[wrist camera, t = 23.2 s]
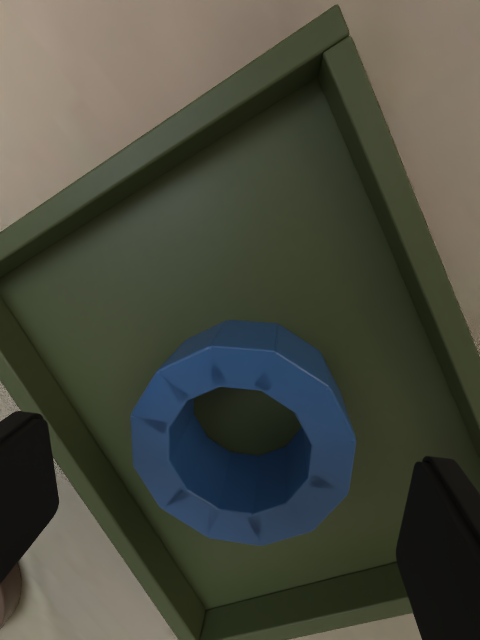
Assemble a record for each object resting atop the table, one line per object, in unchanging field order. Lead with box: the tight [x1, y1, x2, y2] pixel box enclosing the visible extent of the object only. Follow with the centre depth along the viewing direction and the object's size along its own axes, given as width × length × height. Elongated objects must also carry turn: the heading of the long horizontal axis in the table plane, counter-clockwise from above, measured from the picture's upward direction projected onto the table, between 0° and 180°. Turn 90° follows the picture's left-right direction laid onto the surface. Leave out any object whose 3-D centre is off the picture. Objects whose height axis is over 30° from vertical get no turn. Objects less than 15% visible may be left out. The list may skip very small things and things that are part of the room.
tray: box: [0, 5, 480, 640], centre depth 13 cm, size 20×16×2 cm
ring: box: [130, 320, 357, 546], centre depth 12 cm, size 7×7×3 cm
